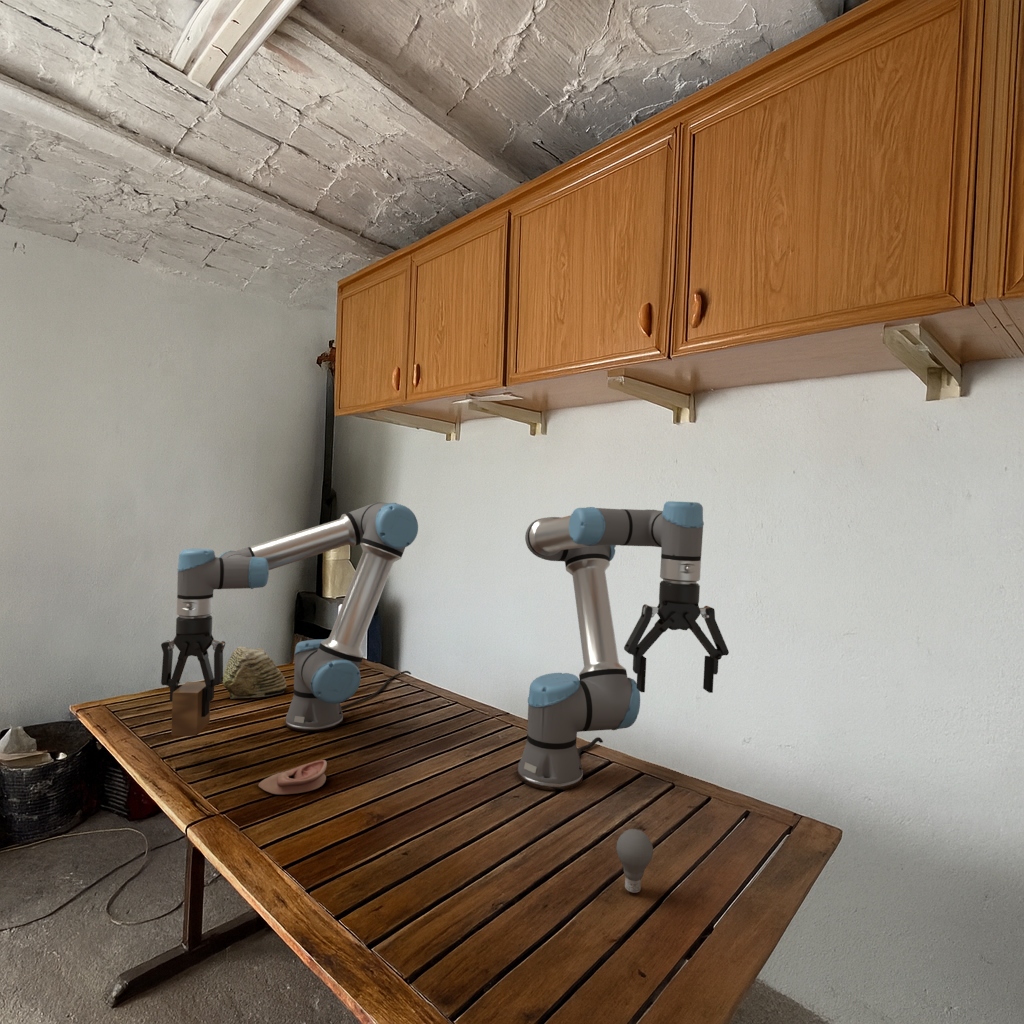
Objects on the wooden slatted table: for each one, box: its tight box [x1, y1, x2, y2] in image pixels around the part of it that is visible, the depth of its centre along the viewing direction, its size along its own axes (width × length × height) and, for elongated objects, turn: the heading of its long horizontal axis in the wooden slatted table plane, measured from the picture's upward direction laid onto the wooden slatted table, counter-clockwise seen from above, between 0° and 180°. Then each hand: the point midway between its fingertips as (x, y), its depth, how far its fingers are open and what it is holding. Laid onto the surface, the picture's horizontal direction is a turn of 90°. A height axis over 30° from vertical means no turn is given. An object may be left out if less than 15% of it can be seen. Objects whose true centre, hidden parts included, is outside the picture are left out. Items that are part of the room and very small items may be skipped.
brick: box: [170, 681, 211, 737], centre depth 147 cm, size 5×8×10 cm, turn 7°
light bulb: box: [615, 828, 654, 894], centre depth 106 cm, size 6×6×10 cm
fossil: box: [222, 646, 288, 699], centre depth 198 cm, size 9×18×15 cm, turn 132°
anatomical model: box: [257, 759, 328, 795], centre depth 139 cm, size 13×4×12 cm
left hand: (191, 714), depth 148 cm, fingers closed on brick, 5 cm apart
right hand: (674, 690), depth 123 cm, fingers open, 13 cm apart
